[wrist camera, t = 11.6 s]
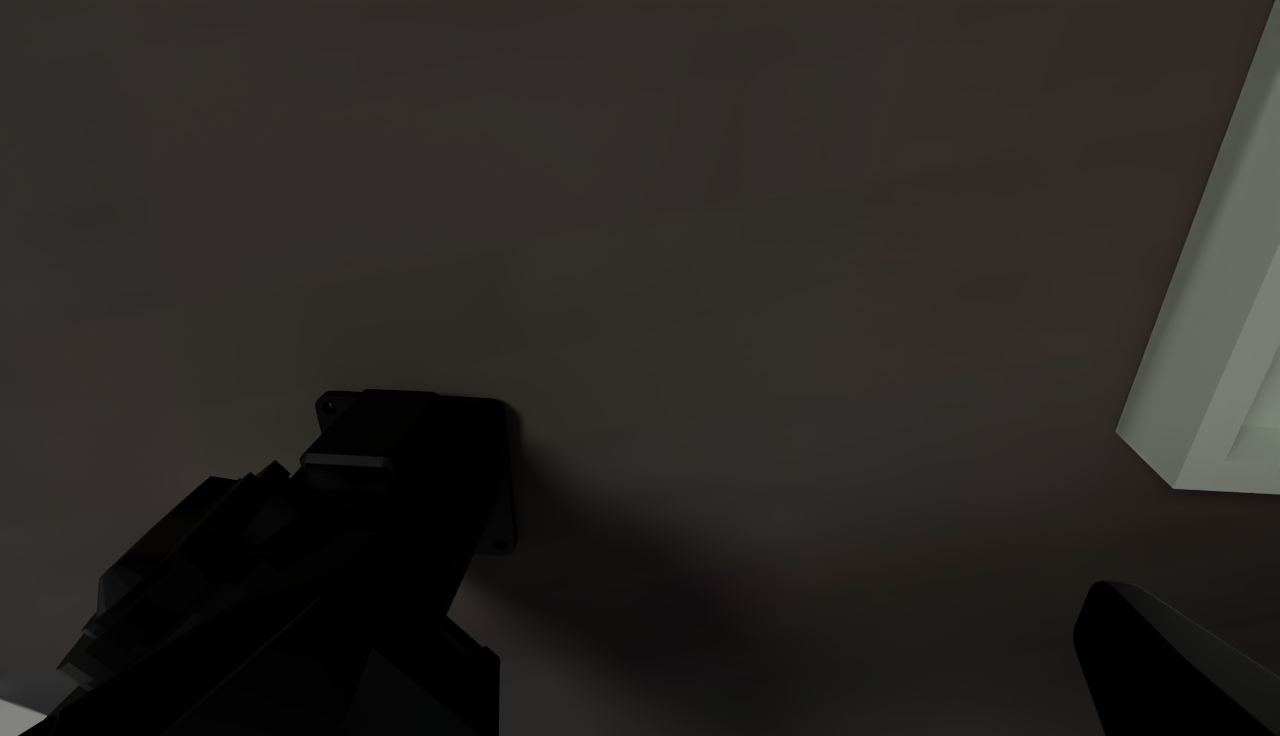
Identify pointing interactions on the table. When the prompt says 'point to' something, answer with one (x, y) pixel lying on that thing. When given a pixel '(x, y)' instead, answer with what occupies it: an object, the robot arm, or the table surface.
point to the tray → (1222, 315)
